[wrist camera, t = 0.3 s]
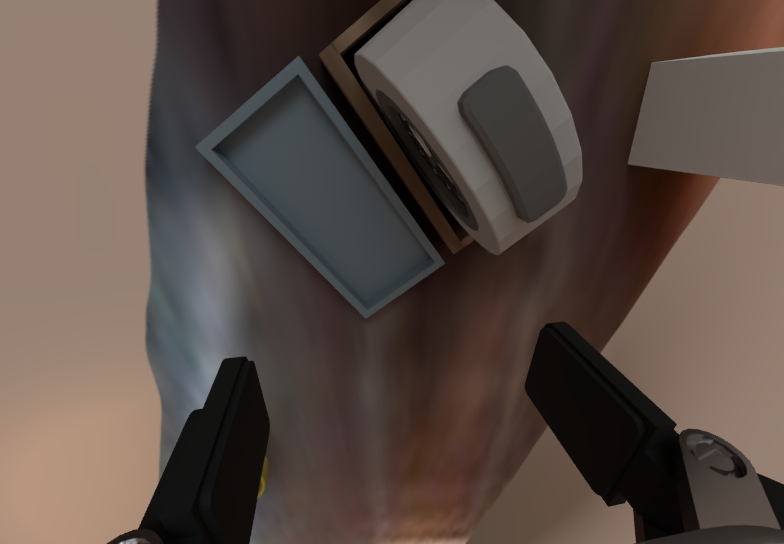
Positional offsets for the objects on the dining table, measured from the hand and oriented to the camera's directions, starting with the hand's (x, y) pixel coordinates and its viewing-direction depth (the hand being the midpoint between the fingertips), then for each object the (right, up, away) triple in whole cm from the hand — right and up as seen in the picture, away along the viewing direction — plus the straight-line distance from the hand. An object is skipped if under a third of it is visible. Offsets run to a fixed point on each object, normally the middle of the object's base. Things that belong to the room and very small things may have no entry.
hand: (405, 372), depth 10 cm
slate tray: (-7, +11, +28) cm, 31 cm away
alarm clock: (+4, +19, +26) cm, 33 cm away
